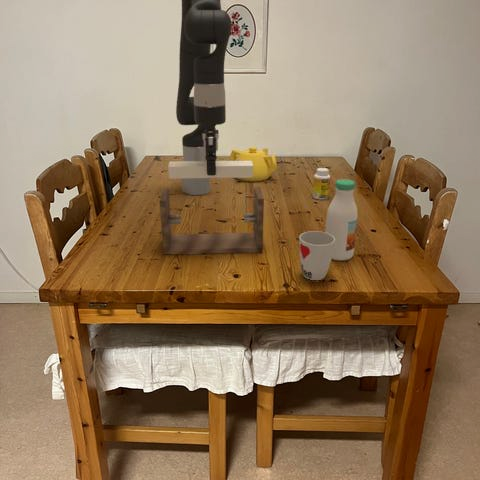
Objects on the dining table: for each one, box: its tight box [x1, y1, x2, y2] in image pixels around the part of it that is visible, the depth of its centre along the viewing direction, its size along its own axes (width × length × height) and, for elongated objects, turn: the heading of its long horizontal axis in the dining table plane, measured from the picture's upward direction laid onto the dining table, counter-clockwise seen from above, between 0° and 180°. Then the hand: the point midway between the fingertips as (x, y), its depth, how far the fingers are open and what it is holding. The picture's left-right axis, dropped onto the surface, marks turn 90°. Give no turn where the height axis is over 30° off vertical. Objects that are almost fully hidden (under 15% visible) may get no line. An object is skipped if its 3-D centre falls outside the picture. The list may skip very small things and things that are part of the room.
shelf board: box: [167, 160, 253, 180], centre depth 118 cm, size 21×5×3 cm, turn 94°
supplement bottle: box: [312, 167, 331, 201], centre depth 161 cm, size 6×6×10 cm
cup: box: [298, 230, 335, 281], centre depth 109 cm, size 8×8×10 cm
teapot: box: [228, 146, 278, 183], centre depth 183 cm, size 17×17×12 cm
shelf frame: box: [159, 186, 265, 255], centre depth 123 cm, size 26×10×15 cm, turn 94°
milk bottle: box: [324, 178, 359, 261], centre depth 118 cm, size 8×8×20 cm
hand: (211, 171), depth 118 cm, fingers closed on shelf board, 5 cm apart
